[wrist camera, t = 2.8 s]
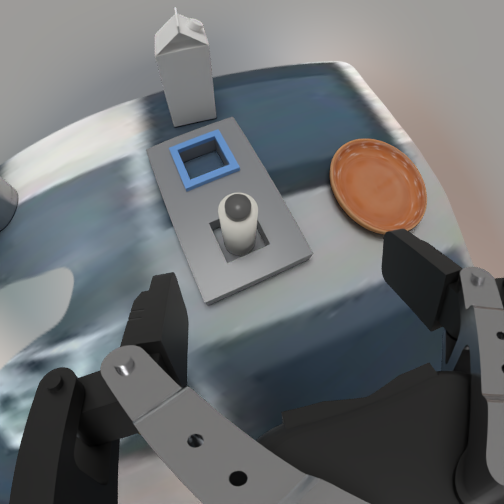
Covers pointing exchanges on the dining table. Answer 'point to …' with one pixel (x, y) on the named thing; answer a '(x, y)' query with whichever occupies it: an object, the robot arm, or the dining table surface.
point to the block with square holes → (207, 203)
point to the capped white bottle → (238, 222)
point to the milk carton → (185, 70)
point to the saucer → (378, 186)
